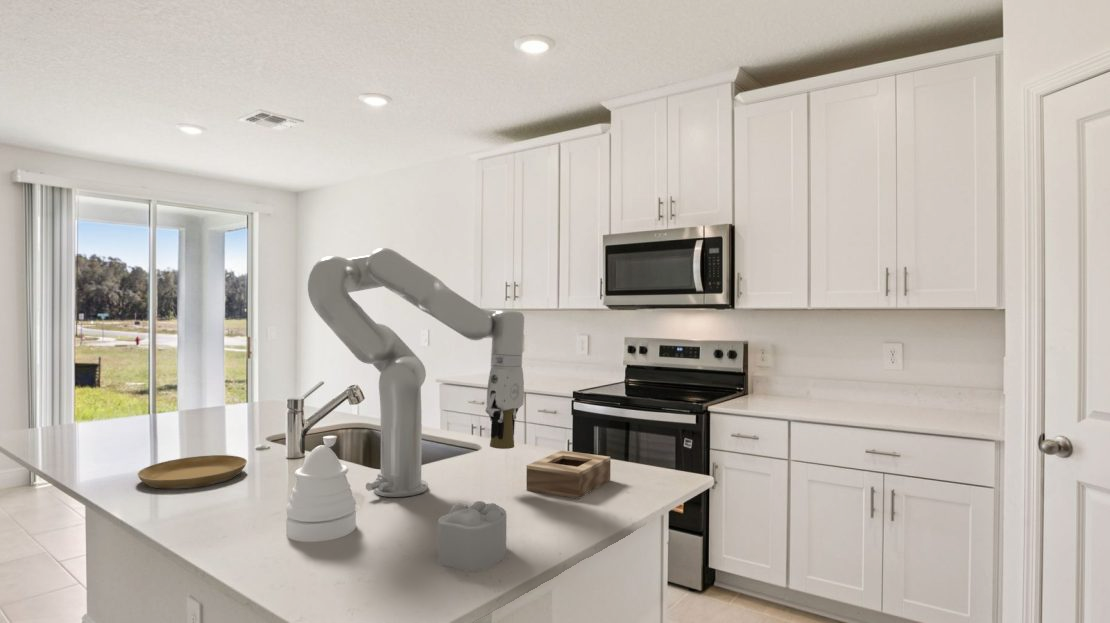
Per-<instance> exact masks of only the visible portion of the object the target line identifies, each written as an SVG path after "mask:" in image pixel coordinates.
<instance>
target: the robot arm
mask: <svg viewBox="0 0 1110 623" xmlns="http://www.w3.org/2000/svg"><path fill="white" fill-rule="evenodd" d="M382 287H383V288H386V289H387V290H389V291H391V292H392V293H394V294H395V295H397V296H398V297H401V298H402V299H403V300H405V301H407V302H408V303H410V304H412V305H413V306H415V307H416V308H418V310H420V311H421V312H423V313H425V314H428V315H429V316H430V317H433V318H435V320H437V321H439V322H440V323H441V324H444V325H445V326H446V327H448V328H449V329H451V330H453V331H455V332H456V333H458V334H460V335H461V336H463V337H464V338H466V339H468V340H471V341H481V340H483V339H489V338H490V339H491V351H490V352H491V354H490V370H489V375H488V382H487V388H486V389H487V390H486V407H485V412H486V413H487V415H488V416H489V418H490V420H489V421H490V422H491V425H490V426H491V427H490V439H491V438H494V437H495V436H498V439H503V430H504V423H503V422H502V420H503V414H504V411H505V410H510V409H513V408H514V409H515V410H514V413H513V414H512V421H513V435H514V436H515V421H516V419H517V413H518V411H519V410H520V408H521V407H523V405H524V399H525V391H524V390H525V387H524V385H525V383H524V381H525V380H524V371H523V366H522V365H523V351H524V348H523V347H524V330H525V316H524V313H522V312H520V311H519V310H518V311H516V310H490V309H485V308H480V307H479V306H477V305H476V304H474V303H472V302H471V301H469V300H467V299H466V298H464V297H462V296H461V295H459V294H458V293H456V292H455V291H454V290H452V289H451V288H449V287H448V286H447V285H446V284H445V283H444V282H443V281H442V280H440V279H439V278H438V277H437V276H435V275H434V274H432V273H430V272H429V271H426V270H425V269H424V268H422V267H420V266H419V265H417V264H416V263H414V262H412V261H411V260H409V259H408V258H406V257H405V256H403V255H402V254H400V253H399V252H397V251H395V250H394V249H391V248H388V247H387V248H386V247H379V248H377V249H375V250H373V251H372V252H371V253H370V254H369V255H364V256H358V257H357V256H356V257H350V258H346V257H345V258H344V257H341V256H336V255H330V256H325V257H323V258H321V259H319V260H318V261H317V262H316V263H315V264H314V266H313V267H312V268H311V271H310V273H309V276H308V280H307V293H308V297H309V301H310V304H311V305H312V307H313V310H314V311H315V312H316V313H317V315H318V316H319V317H320V318H321V319H322V321H323V322H324V323H325V324H326V325H327V326H328V328H330V329H331V331H332V332H333V333H334V335H336V336H337V337H338V338H339V340H340V341H341V342H342V343H343V344H344V345H345V346H346V347H347V349H348V350H349V351H350V352H351V353H352V354H353V355H354V357H355V358H356V359H358V361H360V362H362V364H363V363H364V364H367V365H373V367H375V368H376V370H377V371H378V372H379V373H380V374H379V378H378V391H379V394H378V395H379V404H380V408H379V409H380V473H378V474H377V478H376V479H375V480H371V481H368V482H367V483H366V484H365V489H366V491H368V492H371V491H373V492H374V493H375V495H378V496H382V497H386V498H388V497H389V498H403V497H412V496H416V495H421V494H422V493H424V492H426V491H428V488H429V484H428V482H427V481H426V480H424V479H422V443H423V442H422V428H423V426H422V425H423V424H422V394H421V392H422V386H423V384H424V382H425V380H426V374H427V372H426V367H425V365H424V363H423V362H422V360H421V359H420V358H419V356H417V355H416V354H415V352H414V351H413V350H412V349H411V348H410V347H409V346H408V345H407V344H406V343H405V342H404V341H403V340H402V339H401V338H400V337H399V335H398V334H397V333H396V332H395V331H394V330H393V329H391V327H389V326H387V325H385V324H382V323H377V322H376V321H374V320H373V318H371V317H370V316H369V315H368V313H367V312H365V310H364V309H363V308H362V306H360V304H358V302H357V301H355V300H354V299H353V298H352V297H351V295H350V294H349V293H354V292H360V291H365V290H371V289H377V288H382ZM495 406H498V408H500V409H496V408H495ZM496 411H499V415H498V413H497V412H496Z"/></svg>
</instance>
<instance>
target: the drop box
mask: <svg viewBox="0 0 1110 623" xmlns="http://www.w3.org/2000/svg"><path fill="white" fill-rule="evenodd" d="M610 481H611V456H607V455H599V454H591V453H583V452H577V451H568V450H560V451H557V452H555V453H553V454H551V455H548V456H546V457H543V458H541V459H538V460H535V461H533V462H531V463H528V464H527V465H526V491H530V492H534V493H535V492H536V493H540V492H541V494H547V495H553V496H558V497H564V496H567V497H566V498H570V497H573V498H572V499H576V498H579V499H581V498H583V497H585V496H586V495H587V493H588V494H589V492H590V491H591V492H593V491H595V490H597V489H598V488H599V486H600V487H602V486H603V485H605V484H607V483H609V482H610ZM606 482H607V483H606ZM604 483H605V484H604ZM601 485H602V486H601ZM597 487H598V488H597ZM594 489H595V490H594ZM592 490H593V491H592ZM591 492H590V493H591ZM585 494H586V495H585ZM582 496H583V497H582ZM580 497H581V498H580Z"/></svg>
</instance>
